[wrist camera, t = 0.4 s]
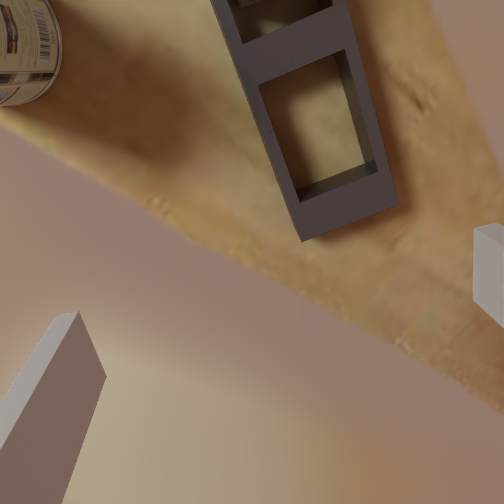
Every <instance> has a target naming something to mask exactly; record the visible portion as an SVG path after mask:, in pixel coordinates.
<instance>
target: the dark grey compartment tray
mask: <svg viewBox="0 0 504 504" xmlns="http://www.w3.org/2000/svg"><path fill="white" fill-rule="evenodd" d="M210 2H211V4H212V7H213V10H214V13H215V15H216V18H217V21H218V23H219V26H220V29H221V31H222V34H223V37H224V39H225V42H226V45H227V47H228V50H229V53H230V55H231V58H232V61H233V63H234V66H235V69H236V71H237V74H238V77H239V79H240V82H241V85H242V88H243V90H244V93H245V96H246V98H247V101H248V104H249V106H250V109H251V112H252V114H253V117H254V120H255V122H256V125H257V128H258V130H259V133H260V136H261V138H262V141H263V144H264V146H265V149H266V152H267V154H268V157H269V160H270V162H271V165H272V168H273V171H274V173H275V176H276V179H277V181H278V184H279V187H280V189H281V192H282V195H283V197H284V200H285V203H286V205H287V208H288V211H289V213H290V216H291V219H292V221H293V224H294V227H295V229H296V231H297V233H298V235H299V237H300V240H301V242H304V241H306V240H309V239H311V238H314V237H317V236H319V235H322V234H324V233H327V232H330V231H332V230H335V229H337V228H340V227H342V226H345V225H348V224H350V223H353V222H355V221H358V220H360V219H363V218H366V217H368V216H371V215H373V214H376V213H379V212H381V211H384V210H386V209H389V208H391V207H394V206H397V205H399V202H398V198H397V194H396V190H395V187H394V183H393V179H392V175H391V171H390V167H389V163H388V159H387V156H386V152H385V148H384V144H383V140H382V136H381V132H380V128H379V125H378V121H377V117H376V113H375V109H374V105H373V101H372V97H371V94H370V90H369V86H368V82H367V78H366V74H365V70H364V66H363V63H362V59H361V55H360V51H359V47H358V43H357V39H356V35H355V32H354V28H353V24H352V20H351V16H350V12H349V8H348V4H347V1H346V0H319V2H320V5H321V9H322V11H319V12H317V13H315V14H313V15H310V16H308V17H306V18H303V19H301V20H299V21H296V22H294V23H292V24H289V25H287V26H285V27H282V28H280V29H278V30H275V31H273V32H271V33H269V34H266V35H264V36H262V37H259V38H257V39H255V40H252V41H250V42H248V43H245V44H243V43H242V40H241V38H240V35H239V32H238V29H237V27H236V24H235V21H234V18H233V15H232V13H231V10H230V7H229V4H228V1H227V0H210ZM333 53H334V55H335V59H336V62H337V66H338V69H339V73H340V77H341V80H342V84H343V87H344V91H345V94H346V98H347V101H348V105H349V109H350V112H351V116H352V119H353V123H354V126H355V130H356V133H357V137H358V141H359V144H360V148H361V151H362V155H363V158H364V162H365V164H362V165H360V166H357V167H355V168H352V169H350V170H347V171H345V172H342V173H340V174H337V175H335V176H332V177H330V178H327V179H325V180H322V181H320V182H317V183H315V184H312V185H310V186H307V187H304V188H302V189H299V190H297V191H295V188H294V185H293V183H292V180H291V177H290V174H289V171H288V169H287V166H286V163H285V160H284V157H283V155H282V152H281V149H280V146H279V144H278V141H277V138H276V135H275V132H274V130H273V127H272V124H271V121H270V118H269V116H268V113H267V110H266V107H265V105H264V102H263V99H262V96H261V93H260V91H259V88H258V85H260V84H262V83H265V82H267V81H269V80H272V79H274V78H276V77H279V76H281V75H283V74H286V73H288V72H291V71H293V70H295V69H298V68H300V67H302V66H305V65H307V64H310V63H312V62H314V61H317V60H319V59H321V58H324V57H326V56H328V55H331V54H333Z"/></svg>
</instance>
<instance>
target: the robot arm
mask: <svg viewBox="0 0 504 504" xmlns="http://www.w3.org/2000/svg"><path fill="white" fill-rule="evenodd" d="M473 301H474V302H475V303H477V304H478V305H479V306H480V307H481V308H482V309H483V310H484V311H485V312H486V313H488V314H489V315H490V316H491V317H492V318H493V319H494V320H495V321H496V322H497V323H498V324H500V325H501V326H502V327H503V328H504V226H502V225H501V224H499V223H493V224H489V225H484V226H479V227H474V253H473ZM106 377H107V376H106V374H105V372H104V369H103V367H102V365H101V362H100V360H99V358H98V355H97V353H96V351H95V348H94V346H93V343H92V341H91V339H90V336H89V334H88V332H87V329H86V327H85V325H84V322H83V320H82V318H81V315H80V313H79V311H76V312H71V313H66V314H62V315H57V316H55V318H54V319H53V321H52V323H51V324H50V326H49V327H48V329H47V330H46V332H45V333H44V335H43V337H42V338H41V340H40V341H39V343H38V344H37V346H36V347H35V349H34V350H33V352H32V353H31V355H30V356H29V358H28V360H27V361H26V363H25V364H24V366H23V367H22V369H21V371H20V372H19V374H18V375H17V377H16V378H15V380H14V381H13V383H12V384H11V386H10V388H9V389H8V391H7V392H6V394H5V395H4V397H3V398H2V400H1V401H0V504H61V503H62V501H63V498H64V495H65V492H66V489H67V487H68V484H69V481H70V478H71V475H72V472H73V470H74V467H75V464H76V461H77V458H78V456H79V453H80V450H81V447H82V444H83V441H84V439H85V436H86V433H87V430H88V427H89V424H90V422H91V419H92V416H93V413H94V410H95V408H96V405H97V402H98V399H99V396H100V393H101V390H102V388H103V385H104V382H105V379H106Z"/></svg>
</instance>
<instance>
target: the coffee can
mask: <svg viewBox="0 0 504 504" xmlns="http://www.w3.org/2000/svg"><path fill="white" fill-rule="evenodd" d="M62 51H63V46H62V36H61V31H60V27H59V24H58V21H57V18H56V16H55V13H54V11H53V9H52V7H51V5H50V3H49V2H48V0H0V107H3V106H15V105H20V104H24V103H27V102H30V101H32V100H35V99H37V98H38V97H39V96H41V95H42V94H43V93H45V92H46V91H47V90H48V89H49V87H50V86H51V85H52V84H53V82H54V80H55V79H56V77H57V75H58V72H59V69H60V66H61V62H62Z"/></svg>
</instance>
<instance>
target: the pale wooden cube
mask: <svg viewBox="0 0 504 504" xmlns="http://www.w3.org/2000/svg"><path fill="white" fill-rule="evenodd" d="M258 1H260V0H238V3H239V6H240V9H242V8H244V7H246V6H248V5H251V4H253V3H255V2H258Z"/></svg>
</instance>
